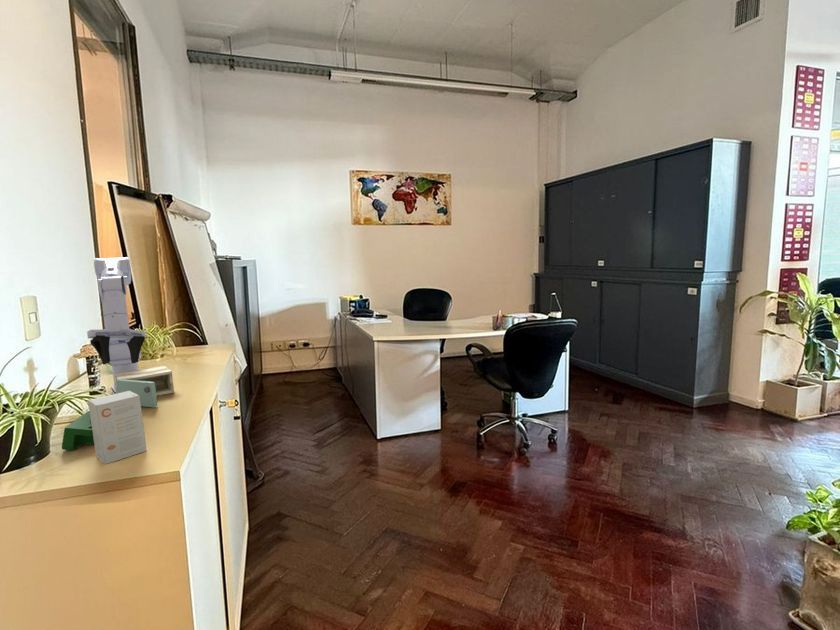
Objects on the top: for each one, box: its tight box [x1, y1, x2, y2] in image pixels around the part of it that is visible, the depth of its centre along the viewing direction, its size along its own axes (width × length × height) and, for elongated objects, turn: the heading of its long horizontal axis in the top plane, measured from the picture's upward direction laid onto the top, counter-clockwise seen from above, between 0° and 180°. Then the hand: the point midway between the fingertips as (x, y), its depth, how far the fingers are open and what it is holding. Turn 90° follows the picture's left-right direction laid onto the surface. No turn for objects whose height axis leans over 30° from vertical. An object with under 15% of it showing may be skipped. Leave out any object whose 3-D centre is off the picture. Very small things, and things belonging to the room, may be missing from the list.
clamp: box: [61, 410, 95, 451], centre depth 105 cm, size 12×6×9 cm, turn 9°
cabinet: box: [114, 365, 175, 397], centre depth 140 cm, size 10×14×7 cm
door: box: [116, 379, 158, 408], centre depth 129 cm, size 2×14×7 cm, turn 72°
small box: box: [87, 391, 147, 465], centre depth 97 cm, size 8×6×13 cm
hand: (121, 363), depth 124 cm, fingers open, 7 cm apart
